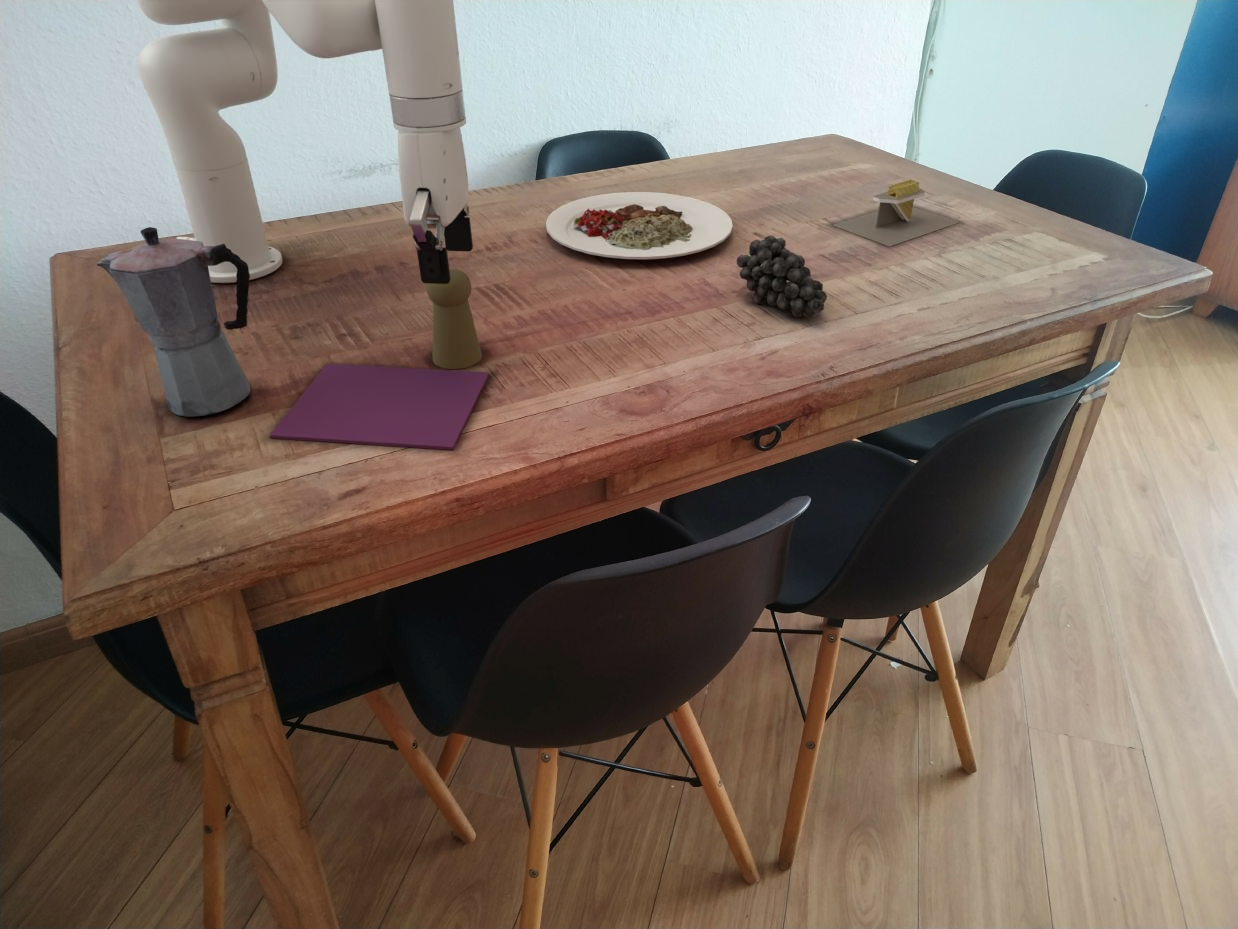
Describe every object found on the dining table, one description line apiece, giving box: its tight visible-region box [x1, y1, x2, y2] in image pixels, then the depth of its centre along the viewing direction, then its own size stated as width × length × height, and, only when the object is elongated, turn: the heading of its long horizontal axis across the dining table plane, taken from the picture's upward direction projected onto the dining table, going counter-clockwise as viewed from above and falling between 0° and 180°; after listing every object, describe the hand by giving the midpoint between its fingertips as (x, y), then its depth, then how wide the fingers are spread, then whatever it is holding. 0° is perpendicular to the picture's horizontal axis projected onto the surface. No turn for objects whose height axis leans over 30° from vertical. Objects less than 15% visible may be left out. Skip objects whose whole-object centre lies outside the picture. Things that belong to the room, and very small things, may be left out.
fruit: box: [736, 235, 828, 319], centre depth 119 cm, size 9×8×15 cm
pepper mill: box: [425, 268, 483, 370], centre depth 106 cm, size 6×6×11 cm
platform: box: [832, 178, 960, 247], centre depth 146 cm, size 12×18×7 cm, turn 127°
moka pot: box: [96, 226, 251, 418], centre depth 96 cm, size 10×15×20 cm, turn 95°
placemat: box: [269, 363, 490, 451], centre depth 100 cm, size 20×16×1 cm
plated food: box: [545, 191, 733, 261], centre depth 143 cm, size 30×30×3 cm
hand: (448, 265), depth 102 cm, fingers open, 9 cm apart
